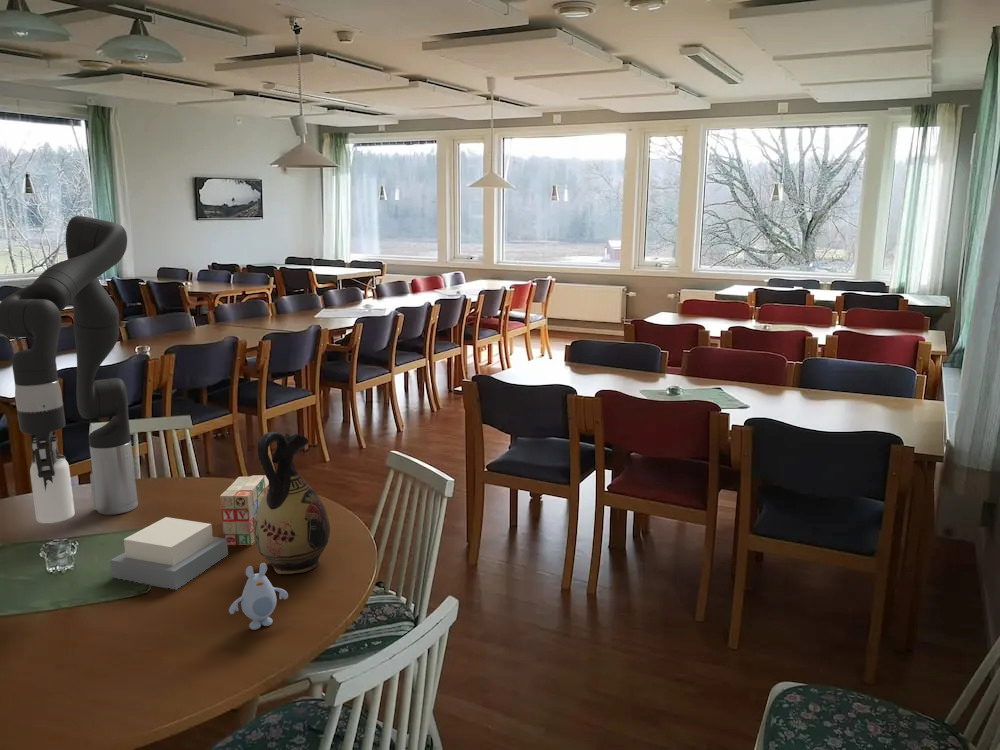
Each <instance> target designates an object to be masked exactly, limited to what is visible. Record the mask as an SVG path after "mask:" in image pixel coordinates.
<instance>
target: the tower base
mask: <svg viewBox="0 0 1000 750" xmlns="http://www.w3.org/2000/svg"><path fill="white" fill-rule="evenodd" d="M212 526H213V525H212V523H208V522H201V521H194V520H187V519H180V518H173V517H167V516H165V517H164V518H161V519H160V520H158V521H155V522H154V523H152V524H150V525H148V526H147V527H144V528H142V529H141V530H138V531H137V532H134V533H133V534H131V535H129V536H126V537H125V538H124V539H123V544H124V552H123V553H121V554H119V555H117V556H115V557H113V558H111V559H110V565H111V566H110V567H111V575H112V578H113V577H114V578H113V579H115V578H119V579H118V580H120V579H123V580H122V581H125V580H129V581H128V582H131V581H134V582H133V583H136V582H138V583H137V584H142V583H146V584H145V585H147V584H150V585H149V586H153V587H158V588H164V589H168V588H170V589H169V590H174V589H175V590H176V591H177V590H179V589H180V588H182V587H184V586H185V585H186V584H188V583H189V582H191V581H192V580H194V579H195V578H197V577H198V576H200V575H202V574H203V573H204V571H205V570H206V569H208V568H209V569H211V568H212V567H213V566H212V565H214V564H215V563H217V562H218V561H220V560H221V559H223V558H224V557H226V556H227V555H228V556H229V550H228V547H229V546H227V539H225V538H224V537H218V536H213V527H212ZM228 556H227V557H228ZM227 557H226V558H227ZM224 559H225V558H224ZM224 559H223V560H224ZM221 561H222V560H221ZM221 561H220V562H221ZM218 563H219V562H218ZM218 563H217V564H218ZM215 565H216V564H215ZM215 565H214V566H215ZM211 566H212V567H211ZM210 567H211V568H210ZM209 569H208V570H209ZM206 571H207V570H206ZM206 571H205V572H206ZM202 572H203V573H202ZM199 574H200V575H199ZM196 576H197V577H196ZM193 578H194V579H193ZM190 580H191V581H190ZM187 582H188V583H187ZM181 586H182V587H181ZM178 588H179V589H178ZM175 590H174V591H175Z"/></svg>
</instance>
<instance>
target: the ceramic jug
mask: <svg viewBox="0 0 1000 750" xmlns="http://www.w3.org/2000/svg"><path fill="white" fill-rule="evenodd" d="M309 441H310V440H309V439H308V438H307V437H306V436H303V435H302V434H299V433H295V434H293V435H291V434H290V433H288V432H286V433H285V434H284V435H283V433H281V432H278V431H277V432H276V431H268V432H266V433H265V434H262V436H261V437H260V438H259V440H258V443H257V455H258V460H259V462H260V464H261V466H262V469H263V471H264V475H266V478H267V479H268V481H269V487H268V488H267V490H266V493H265V495H264V496H263V498H262V500H261V502H260V505H259V507H258V510H257V512H256V517H255V523H254V539H255V542H254V544H255V547H256V549H257V550H258V552H259V554H260V556H262V557H263V558H264V559H265V560H266V561H268V563H269V564H270V565H271V566H272V567H273V569H274V571H275V573H276V574H279V575H282V574H283V575H291V574H292V575H293V574H301V573H302V574H303V573H306V572H309V571H312V570H313V569H316V568H318V566H320V563H319V559H320V557H321V555H322V553H323V552H324V551H325V549H326V548H327V546H328V542H329V538H330V535H331V534H330V533H331V526H330V525H331V524H330V519H329V517H328V512H327V511H326V507H325V505H324V503H323V502H322V500H321V499H320V497H319V495H318V494H317V493H316V492H315V490H314V489H313V488H312V486H311V485H310V483H308V481H306V479H304V478H303V476H301V475H300V473H299V472H298V471H297V470H296V466H295V464H294V462H293V460H294V457H295V456H296V455H297V453H298V452H300V451H301V449H303V448H304V447H305V446H307V445H308V444H309ZM273 443H276V445H277V446H276V449H275V451H274V453H273V457H272V458H270V455H269V448H270V446H271V445H272V444H273ZM273 463H274V464H277V467H276V471H275V468H274V465H273Z"/></svg>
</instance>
